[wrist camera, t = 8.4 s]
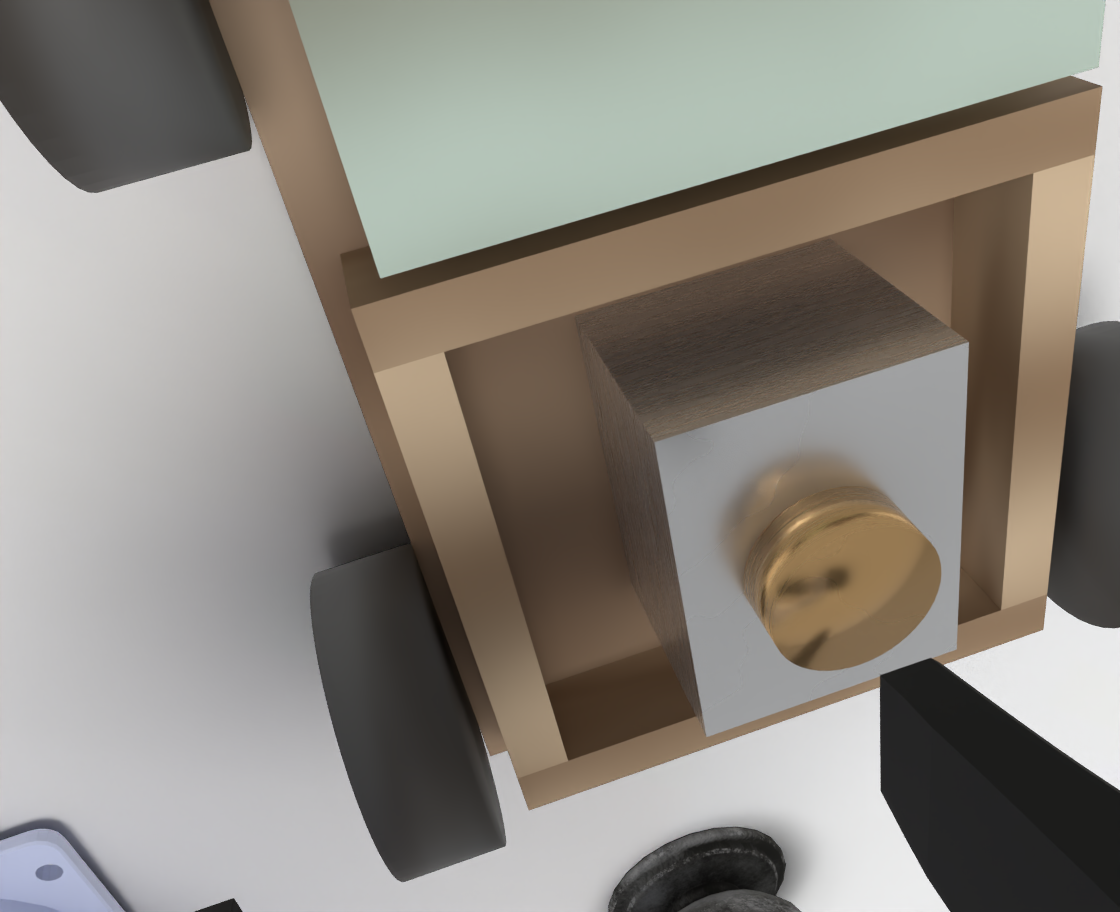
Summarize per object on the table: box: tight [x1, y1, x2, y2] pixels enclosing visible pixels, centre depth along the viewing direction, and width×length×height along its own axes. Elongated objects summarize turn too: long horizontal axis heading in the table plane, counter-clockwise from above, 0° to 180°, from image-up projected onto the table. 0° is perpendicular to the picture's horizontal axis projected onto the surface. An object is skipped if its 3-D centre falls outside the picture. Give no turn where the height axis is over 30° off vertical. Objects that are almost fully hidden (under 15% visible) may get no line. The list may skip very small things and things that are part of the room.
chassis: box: [0, 0, 1120, 882], centre depth 15 cm, size 20×16×6 cm
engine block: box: [575, 239, 969, 737], centre depth 16 cm, size 6×4×5 cm
